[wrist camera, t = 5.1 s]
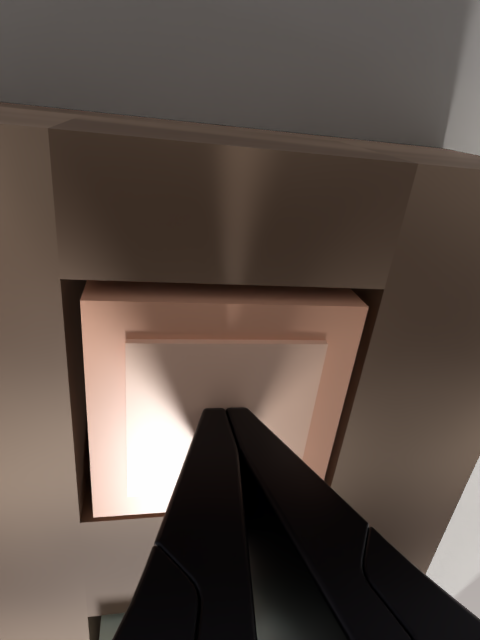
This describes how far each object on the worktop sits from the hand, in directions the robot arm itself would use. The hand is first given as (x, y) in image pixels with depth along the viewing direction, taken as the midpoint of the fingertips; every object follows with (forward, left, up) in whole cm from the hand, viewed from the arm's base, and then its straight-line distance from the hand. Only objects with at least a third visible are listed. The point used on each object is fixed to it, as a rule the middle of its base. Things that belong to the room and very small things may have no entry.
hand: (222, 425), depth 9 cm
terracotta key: (0, 0, -4) cm, 4 cm away
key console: (-4, 0, -5) cm, 7 cm away
